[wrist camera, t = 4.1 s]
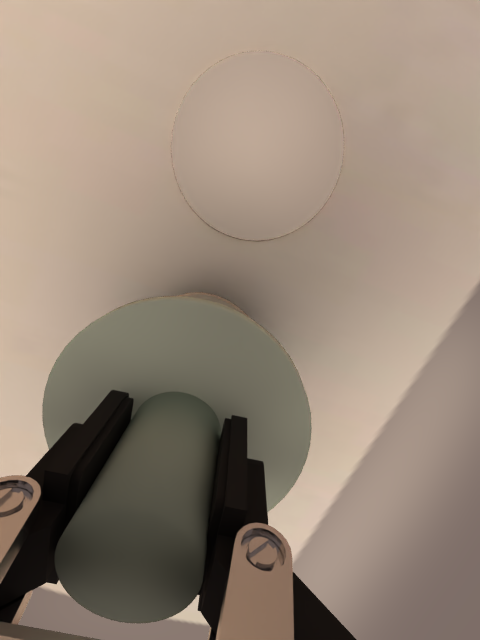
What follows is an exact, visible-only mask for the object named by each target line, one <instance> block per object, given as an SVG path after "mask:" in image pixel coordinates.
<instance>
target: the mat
mask: <svg viewBox="0 0 480 640" xmlns="http://www.w3.org/2000/svg"><path fill="white" fill-rule="evenodd" d="M343 155H344V133H343V126H342V121H341V117H340V114H339V110H338V108H337V106H336V103H335V101H334V99H333V97H332V95H331V93H330V92H329V90H328V88H327V87H326V86H325V84H324V83H323V82H322V81H321V79H320V78H319V77H318V76H317V75H316V74H315V73H314V72H313V71H312V70H310V69H309V68H308V67H306V66H305V65H304V64H302V63H301V62H299V61H297V60H295V59H293V58H291V57H288V56H285V55H283V54H280V53H275V52H269V51H250V52H242V53H239V54H236V55H232V56H230V57H227V58H225V59H223V60H221V61H219V62H217V63H216V64H214V65H213V66H211V67H210V68H209V69H207V70H206V71H205V72H204V73H203V74H202V75H200V76H199V78H198V79H197V80H196V81H195V82H194V83H193V84H192V86H191V87H190V89H189V90H188V92H187V93H186V95H185V96H184V98H183V100H182V102H181V104H180V106H179V109H178V112H177V115H176V117H175V121H174V126H173V130H172V140H171V156H172V163H173V169H174V173H175V177H176V180H177V183H178V185H179V188H180V190H181V192H182V194H183V196H184V197H185V199H186V201H187V202H188V204H189V205H190V207H191V208H192V209H193V211H194V212H195V213H196V214H197V215H198V216H199V217H200V218H201V219H202V220H203V221H205V222H206V223H207V224H208V225H210V226H211V227H213V228H214V229H216V230H218V231H219V232H222V233H224V234H226V235H228V236H231V237H235V238H238V239H244V240H255V241H260V240H270V239H274V238H278V237H282V236H284V235H287V234H289V233H291V232H293V231H295V230H297V229H299V228H300V227H302V226H303V225H305V224H306V223H307V222H309V221H310V220H311V219H312V218H313V217H314V216H315V215H316V214H317V213H318V212H319V211H320V210H321V208H322V207H323V206H324V205H325V203H326V202H327V200H328V199H329V197H330V196H331V194H332V192H333V190H334V188H335V186H336V184H337V181H338V178H339V175H340V172H341V167H342V163H343Z"/></svg>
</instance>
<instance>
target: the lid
mask: <svg viewBox="0 0 480 640" xmlns="http://www.w3.org/2000/svg"><path fill="white" fill-rule="evenodd" d="M111 390H117V391H122V392H126V393H129V398H133V399H134V402H133V409H132V415H131V421H130V423H129V425H128V426H127V428H126V430H125V431H124V433H123V435H122V436H121V438H120V440H119V441H118V443H117V445H116V446H115V448H114V450H113V451H112V453H111V454H110V456H109V458H108V459H107V461H106V463H105V464H104V466H103V468H102V469H101V471H100V473H99V474H98V476H97V478H96V479H95V481H94V483H93V484H92V486H91V488H90V489H89V491H88V493H87V494H86V496H85V498H84V499H83V501H82V503H81V504H80V506H79V507H78V509H77V511H76V512H75V514H74V516H73V517H72V519H71V521H70V522H69V524H68V526H67V527H66V529H65V531H64V532H63V534H62V536H61V537H60V539H59V541H58V544H57V546H56V550H55V569H56V572H57V575H58V578H59V580H60V582H61V584H62V586H63V587H64V589H65V590H66V591H67V593H68V594H69V595H70V596H71V597H72V598H73V599H74V600H75V601H76V602H78V603H79V604H80V605H81V606H83V607H84V608H86V609H87V610H89V611H91V612H93V613H95V614H97V615H99V616H101V617H105V618H107V619H111V620H114V621H119V622H125V623H150V622H156V621H160V620H164V619H166V618H169V617H172V616H174V615H176V614H177V613H179V612H181V611H182V610H184V609H185V608H186V607H187V606H188V605H189V604H190V603H192V601H193V600H194V599H195V597H196V596H197V594H198V592H199V591H200V588H201V585H202V582H203V576H204V568H205V560H206V552H207V533H208V525H209V517H210V510H211V502H212V495H213V487H214V479H215V472H216V464H217V456H218V449H219V441H220V437H221V432H222V428H223V424H224V420H225V418H229V419H231V416H232V415H235V416H240V417H245V418H247V458H249V459H254V460H259V461H263V463H264V472H265V486H266V501H267V512H268V511H270V510H271V509H272V508H274V507H275V506H276V505H277V504H278V503H279V502H280V501H281V500H282V499H283V498H284V497H285V496H286V494H287V493H288V492H289V491H290V489H291V488H292V487H293V485H294V484H295V482H296V480H297V479H298V477H299V475H300V473H301V471H302V469H303V466H304V464H305V461H306V459H307V455H308V451H309V447H310V440H311V413H310V408H309V403H308V399H307V395H306V392H305V390H304V387H303V384H302V381H301V379H300V376H299V373H298V371H297V369H296V367H295V365H294V364H293V362H292V360H291V358H290V357H289V355H288V354H287V352H286V351H285V350H284V348H283V347H282V346H281V344H280V343H279V342H278V341H277V340H276V339H275V338H274V337H273V336H272V335H271V334H270V333H269V332H268V331H267V330H266V329H264V328H263V327H262V326H260V325H259V324H258V323H257V322H255V321H254V320H252V319H251V318H249V317H247V316H246V315H244V314H242V313H240V312H239V311H236V310H234V309H232V308H230V307H227V306H225V305H223V304H219V303H216V302H212V301H209V300H205V299H200V298H193V297H187V296H163V297H154V298H148V299H143V300H139V301H135V302H132V303H129V304H127V305H124V306H122V307H119V308H117V309H115V310H113V311H111V312H110V313H108V314H106V315H104V316H102V317H101V318H99V319H97V320H96V321H94V322H93V323H91V324H90V325H89V326H87V327H86V328H85V329H83V330H82V331H81V332H79V333H78V334H77V335H76V336H75V337H74V338H73V339H72V340H71V341H70V343H69V344H68V345H67V346H66V347H65V348H64V350H63V351H62V353H61V354H60V356H59V357H58V358H57V360H56V362H55V364H54V366H53V368H52V370H51V372H50V374H49V378H48V381H47V384H46V387H45V392H44V399H43V426H44V432H45V437H46V441H47V444H48V447H49V450H50V448H51V447H52V446H53V445H54V444H55V443H56V442H57V441H58V439H59V438H60V437H61V436H62V435H63V434H64V433H65V432H66V430H67V429H68V428H69V427H70V426H71V425H72V424H73V423H80V424H83V423H84V422H85V421H86V420H87V419H88V417H89V416H90V415H91V414H92V413H93V411H94V410H95V409H96V408H97V407H98V405H99V404H100V403H101V402H102V401H103V399H104V398H105V397H106V396H107V395H108V393H109V392H110V391H111Z"/></svg>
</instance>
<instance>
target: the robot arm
mask: <svg viewBox="0 0 480 640" xmlns="http://www.w3.org/2000/svg"><path fill="white" fill-rule="evenodd" d="M133 402H134V399H133V398H129V393H126V392H122V391H117V390H111V391H110V392H109V393H108V395H107V396H106V397H105V398H104V399H103V401H102V402H101V403H100V404H99V405H98V407H97V408H96V409H95V410H94V411H93V413H92V414H91V415H90V416H89V417H88V419H87V420H86V421H85V422H84V423H83V424H80V423H73V424H72V425H71V426H70V427H69V428H68V429H67V430H66V432H65V433H64V434H63V435H62V436H61V437H60V438H59V439H58V441H57V442H56V443H55V444H54V445H53V446H52V447H51V448H50V450H49V451H48V452H47V453H46V454H45V455H44V456H43V457H42V459H41V460H40V461H39V462H38V463H37V464H36V465H35V466H34V468H33V469H32V470H31V471H30V472H29V473H28V474H27V475H26V476H22V475H12V476H6V477H1V478H0V640H99V639H94V638H88V637H83V636H77V635H72V634H66V633H61V632H55V631H50V630H44V629H39V628H33V627H27V626H22V625H18V623H19V621H20V619H21V617H22V615H23V613H24V611H25V609H26V606H27V604H28V602H29V600H30V598H31V595H32V591H33V589H35V588H37V587H39V586H41V585H43V584H45V583H46V582H47V583H53V584H57V582H58V580H59V578H58V575H57V572H56V569H55V550H56V546H57V544H58V541H59V539H60V537H61V536H62V534H63V532H64V531H65V529H66V527H67V526H68V524H69V522H70V521H71V519H72V517H73V516H74V514H75V512H76V511H77V509H78V507H79V506H80V504H81V503H82V501H83V499H84V498H85V496H86V494H87V493H88V491H89V489H90V488H91V486H92V484H93V483H94V481H95V479H96V478H97V476H98V474H99V473H100V471H101V469H102V468H103V466H104V464H105V463H106V461H107V459H108V458H109V456H110V454H111V453H112V451H113V450H114V448H115V446H116V445H117V443H118V441H119V440H120V438H121V436H122V435H123V433H124V431H125V430H126V428H127V426H128V425H129V423H130V421H131V415H132V409H133ZM197 595H200V596H199V604H198V611H201V613H202V615H203V616H204V618H205V619H206V621H207V622H208V624H209V625H210V630H209V635H208V640H356V639H355V638H354V637H353V635H352V634H351V633H350V632H349V631H348V630H347V629H346V628H345V627H344V626H343V625H342V624H341V623H340V622H339V621H338V620H337V618H336V617H335V616H334V615H333V614H332V613H331V612H330V611H329V610H328V609H327V608H326V607H325V606H324V604H323V603H322V602H321V601H320V600H319V599H318V598H317V597H316V596H315V595H314V594H313V593H312V592H311V591H310V589H308V587H307V586H306V585H305V584H304V583H303V582H302V581H301V580H300V579H299V578H298V577H297V576H296V574H295V573H294V572H293V568H292V553H291V548H290V546H289V544H288V542H287V540H286V539H285V538H284V536H283V535H282V534H281V533H280V532H279V531H277V530H276V529H275V528H273V527H271V526H269V525H268V515H267V501H266V486H265V472H264V463H263V461H259V460H254V459H249V458H247V418H245V417H240V416H235V415H232V416H231V419H229V418H225V420H224V424H223V428H222V432H221V437H220V441H219V449H218V456H217V464H216V472H215V479H214V487H213V495H212V502H211V510H210V517H209V525H208V533H207V552H206V560H205V568H204V576H203V582H202V585H201V588H200V591H199V592H198V594H197Z"/></svg>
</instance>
